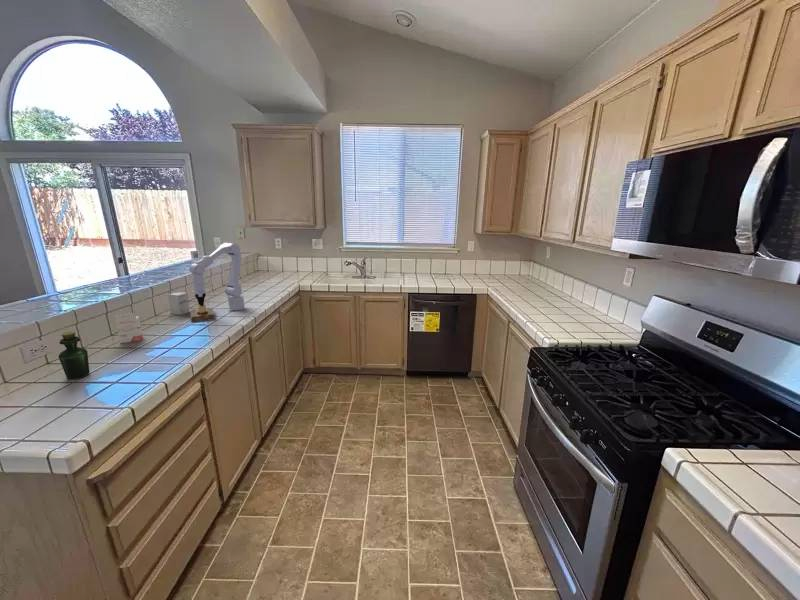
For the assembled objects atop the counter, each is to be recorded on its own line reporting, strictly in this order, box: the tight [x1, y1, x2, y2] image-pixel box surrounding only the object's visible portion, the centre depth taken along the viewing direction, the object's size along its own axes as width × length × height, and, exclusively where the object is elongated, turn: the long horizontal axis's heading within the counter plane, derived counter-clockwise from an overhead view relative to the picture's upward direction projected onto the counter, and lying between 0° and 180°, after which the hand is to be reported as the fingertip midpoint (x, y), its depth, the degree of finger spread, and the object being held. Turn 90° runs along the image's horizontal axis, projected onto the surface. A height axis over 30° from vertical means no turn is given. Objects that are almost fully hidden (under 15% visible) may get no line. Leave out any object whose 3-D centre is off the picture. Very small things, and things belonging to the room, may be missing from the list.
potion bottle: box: [58, 331, 90, 380], centre depth 129 cm, size 8×8×18 cm
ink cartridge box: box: [114, 312, 144, 344], centre depth 164 cm, size 9×5×15 cm, turn 118°
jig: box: [190, 307, 216, 322], centre depth 204 cm, size 12×16×3 cm
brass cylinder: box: [197, 304, 207, 315], centre depth 202 cm, size 4×4×8 cm
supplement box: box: [167, 291, 190, 315], centre depth 209 cm, size 7×7×13 cm
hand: (201, 305), depth 201 cm, fingers closed, pressing on brass cylinder
